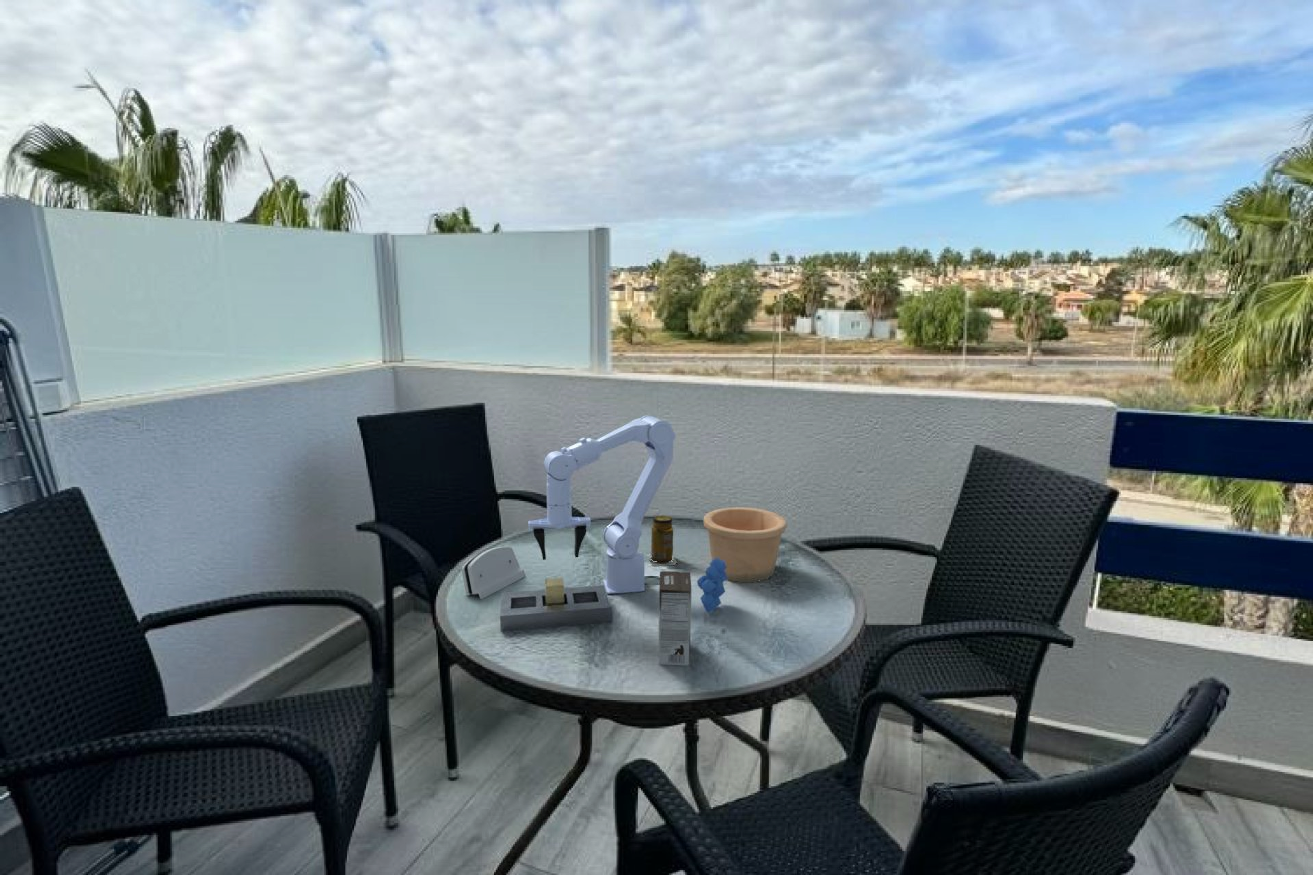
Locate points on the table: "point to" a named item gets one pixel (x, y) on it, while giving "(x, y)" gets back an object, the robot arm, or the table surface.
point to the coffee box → (674, 618)
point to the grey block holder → (554, 608)
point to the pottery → (745, 541)
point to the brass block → (554, 591)
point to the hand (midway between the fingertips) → (560, 556)
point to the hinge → (491, 571)
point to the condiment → (662, 541)
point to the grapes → (713, 584)
